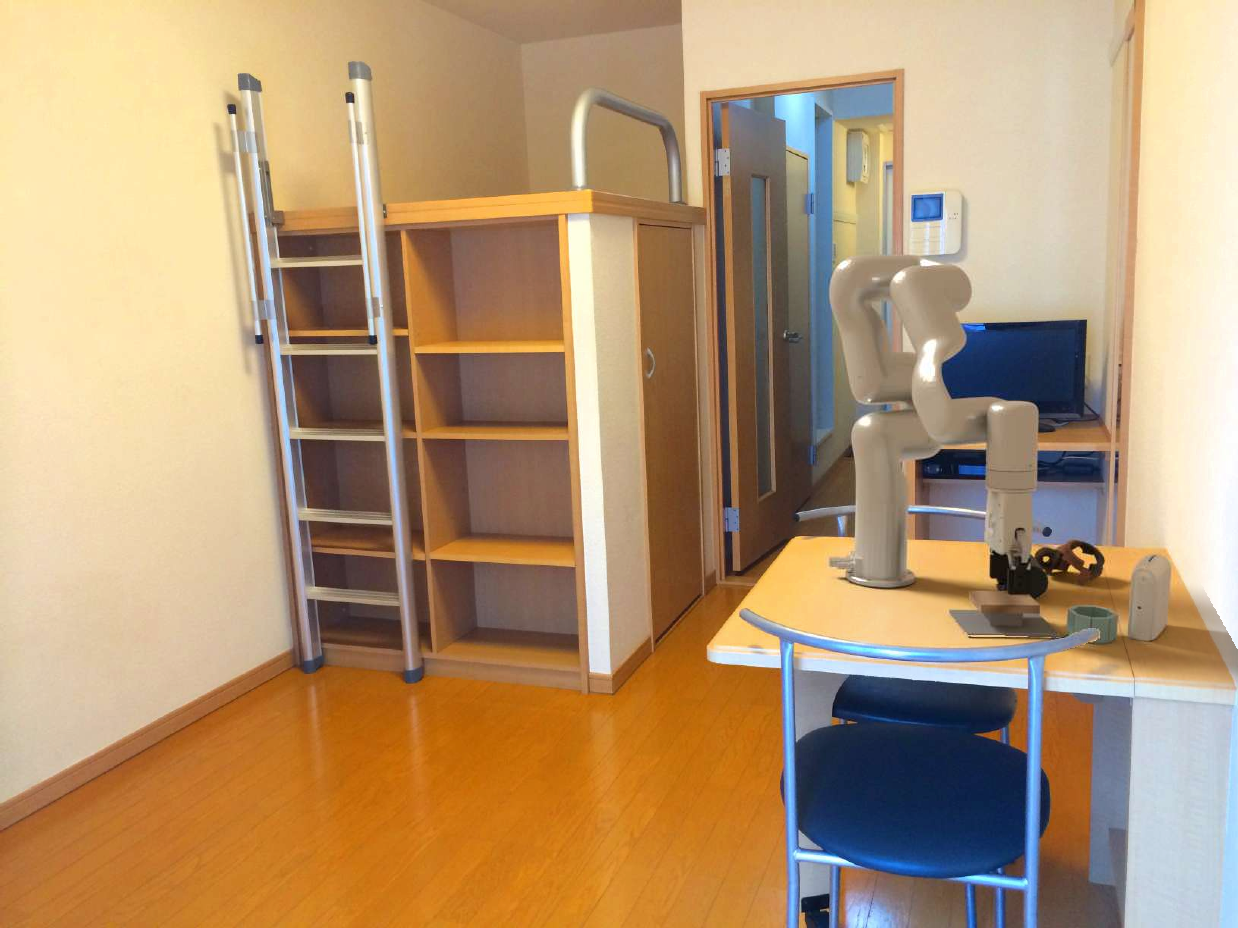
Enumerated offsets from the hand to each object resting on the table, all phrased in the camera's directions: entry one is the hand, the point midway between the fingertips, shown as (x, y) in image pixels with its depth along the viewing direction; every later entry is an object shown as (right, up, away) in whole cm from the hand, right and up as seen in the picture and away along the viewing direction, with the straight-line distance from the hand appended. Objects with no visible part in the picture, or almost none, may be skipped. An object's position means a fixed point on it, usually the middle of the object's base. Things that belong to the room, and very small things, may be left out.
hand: (1008, 585), depth 162 cm
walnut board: (0, -3, +1) cm, 4 cm away
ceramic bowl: (+11, -7, -4) cm, 14 cm away
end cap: (+9, -4, +18) cm, 21 cm away
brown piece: (+21, -2, +27) cm, 34 cm away
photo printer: (+21, -7, -2) cm, 22 cm away
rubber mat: (0, -7, +2) cm, 7 cm away
